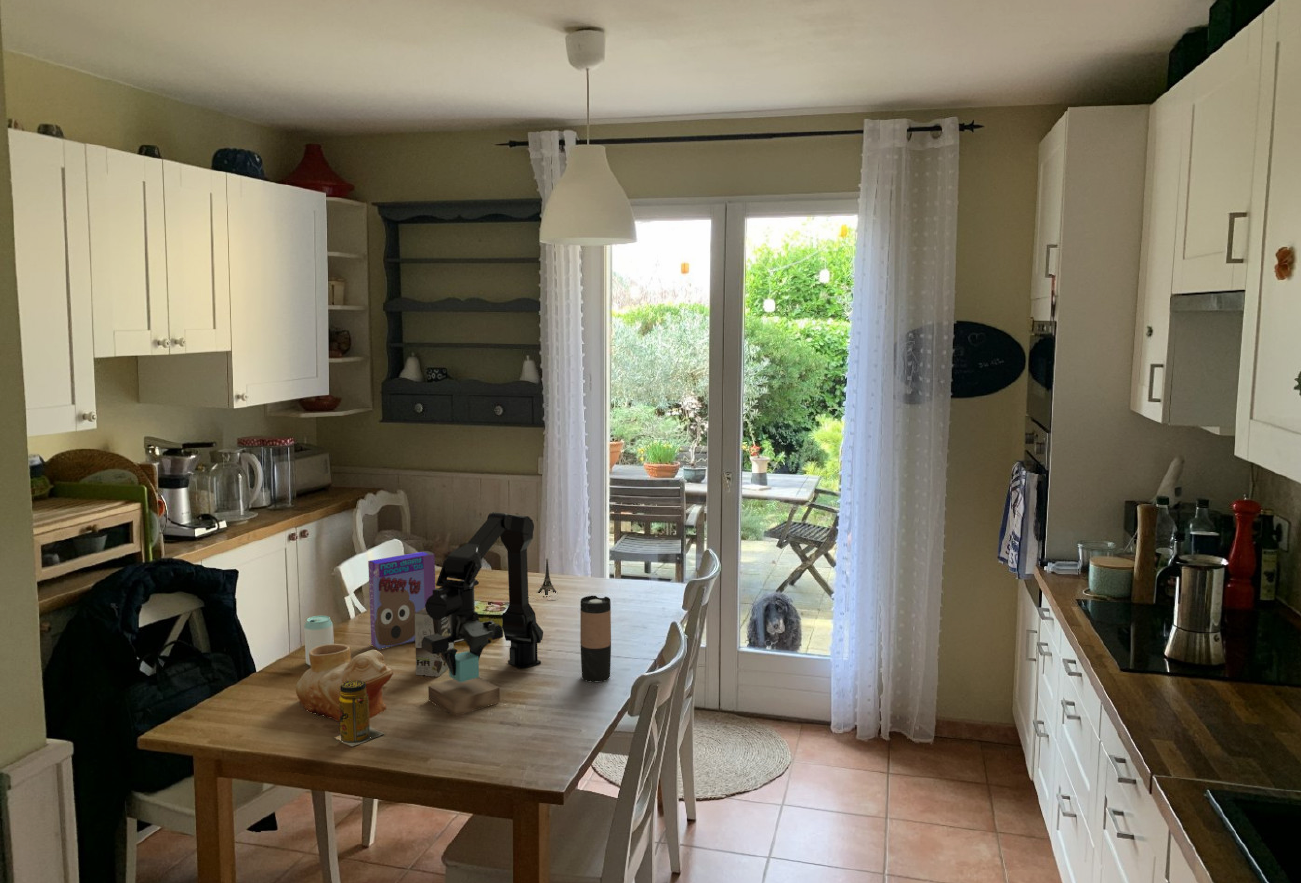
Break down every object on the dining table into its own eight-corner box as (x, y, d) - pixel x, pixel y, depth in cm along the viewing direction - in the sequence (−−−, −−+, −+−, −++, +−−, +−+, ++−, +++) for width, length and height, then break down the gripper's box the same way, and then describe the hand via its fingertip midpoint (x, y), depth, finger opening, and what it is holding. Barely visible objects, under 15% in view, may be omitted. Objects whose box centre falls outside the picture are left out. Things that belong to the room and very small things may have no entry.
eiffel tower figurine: (534, 588, 328) (534, 549, 326) (564, 589, 328) (564, 550, 326) (526, 601, 313) (526, 560, 312) (558, 602, 313) (557, 561, 311)
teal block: (467, 671, 233) (467, 651, 233) (478, 677, 230) (478, 656, 229) (449, 676, 230) (448, 655, 230) (460, 682, 226) (459, 661, 226)
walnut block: (473, 689, 239) (472, 673, 239) (499, 704, 230) (499, 687, 230) (428, 702, 231) (428, 685, 231) (454, 717, 222) (454, 700, 222)
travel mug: (588, 684, 241) (587, 605, 239) (575, 674, 248) (575, 597, 245) (616, 679, 245) (616, 601, 242) (603, 669, 251) (603, 593, 249)
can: (325, 669, 252) (323, 623, 250) (300, 667, 253) (298, 621, 252) (339, 659, 259) (337, 615, 257) (315, 657, 260) (313, 613, 259)
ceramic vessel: (362, 733, 213) (359, 666, 211) (283, 707, 227) (280, 645, 225) (409, 711, 225) (407, 648, 223) (331, 688, 239) (328, 629, 237)
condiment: (332, 738, 211) (330, 684, 209) (366, 725, 217) (364, 673, 216) (351, 747, 206) (349, 692, 204) (386, 734, 212) (384, 681, 211)
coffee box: (439, 677, 246) (437, 614, 244) (415, 675, 247) (413, 613, 245) (453, 664, 255) (452, 604, 253) (430, 663, 256) (428, 603, 254)
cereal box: (379, 649, 266) (376, 563, 263) (371, 645, 270) (368, 560, 267) (436, 636, 278) (434, 553, 275) (428, 632, 281) (426, 550, 278)
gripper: (443, 624, 216) (445, 692, 218) (515, 607, 228) (516, 672, 230) (419, 612, 224) (421, 678, 226) (489, 597, 236) (490, 659, 238)
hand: (463, 672), depth 230 cm, fingers closed on teal block, 5 cm apart
